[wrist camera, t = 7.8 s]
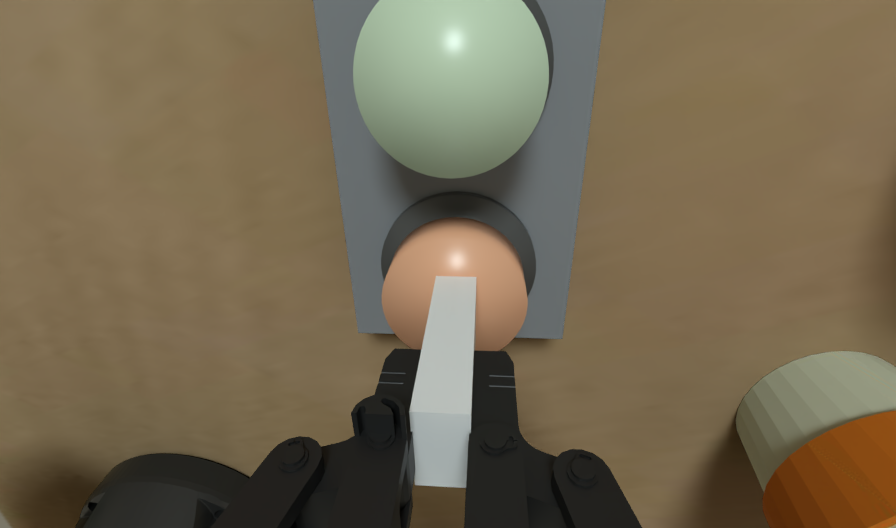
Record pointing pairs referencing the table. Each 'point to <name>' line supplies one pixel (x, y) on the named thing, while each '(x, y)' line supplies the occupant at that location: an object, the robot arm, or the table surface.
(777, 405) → the reusable coffee cup
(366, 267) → the button panel
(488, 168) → the sage button
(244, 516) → the robot arm
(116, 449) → the table surface
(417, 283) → the terracotta button
